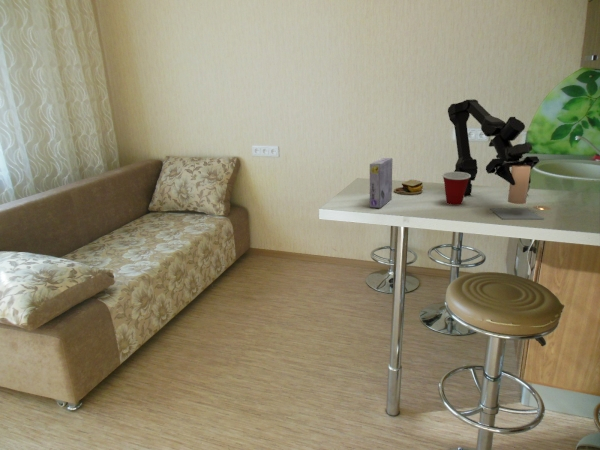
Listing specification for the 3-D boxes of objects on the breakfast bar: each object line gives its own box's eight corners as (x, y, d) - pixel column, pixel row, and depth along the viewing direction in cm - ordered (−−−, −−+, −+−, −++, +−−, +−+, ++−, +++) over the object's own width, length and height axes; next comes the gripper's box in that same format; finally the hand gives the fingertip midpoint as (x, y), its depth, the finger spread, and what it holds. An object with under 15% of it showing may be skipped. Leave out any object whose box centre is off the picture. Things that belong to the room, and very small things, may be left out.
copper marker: (537, 209, 166) (537, 209, 166) (531, 206, 172) (531, 205, 172) (552, 209, 166) (552, 209, 166) (546, 206, 171) (546, 205, 171)
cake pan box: (381, 197, 191) (383, 156, 186) (393, 198, 189) (394, 157, 184) (368, 208, 175) (369, 163, 169) (380, 209, 172) (381, 164, 167)
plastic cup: (439, 205, 175) (441, 176, 172) (440, 199, 185) (442, 171, 181) (468, 207, 171) (471, 177, 168) (468, 201, 181) (471, 172, 178)
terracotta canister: (506, 202, 159) (510, 166, 155) (508, 199, 164) (513, 164, 160) (524, 204, 156) (529, 168, 152) (526, 200, 161) (531, 165, 157)
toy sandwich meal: (388, 191, 202) (388, 181, 201) (411, 188, 208) (411, 178, 207) (406, 197, 192) (406, 186, 190) (430, 193, 197) (430, 182, 196)
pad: (502, 219, 155) (502, 218, 155) (489, 209, 169) (489, 208, 168) (543, 219, 154) (544, 218, 154) (527, 209, 167) (527, 208, 167)
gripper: (494, 135, 155) (512, 172, 148) (539, 133, 159) (558, 169, 152) (478, 155, 164) (494, 190, 157) (521, 152, 168) (538, 186, 162)
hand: (521, 183), depth 157 cm, fingers closed on terracotta canister, 6 cm apart
